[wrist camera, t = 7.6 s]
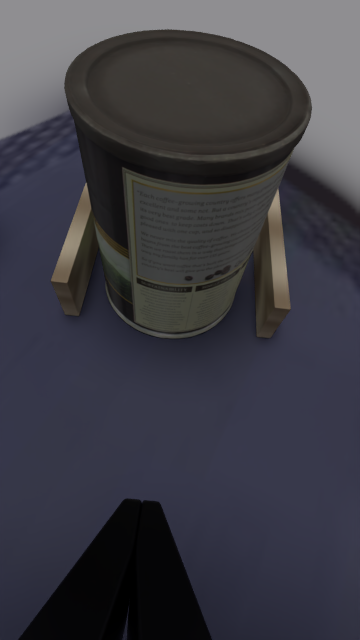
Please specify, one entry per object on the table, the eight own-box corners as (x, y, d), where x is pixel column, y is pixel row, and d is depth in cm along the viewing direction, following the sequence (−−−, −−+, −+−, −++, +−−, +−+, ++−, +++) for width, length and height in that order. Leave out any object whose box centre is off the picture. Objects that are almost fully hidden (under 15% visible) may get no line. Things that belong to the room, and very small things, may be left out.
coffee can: (76, 297, 24) (4, 86, 12) (152, 217, 29) (155, 10, 17) (196, 367, 22) (252, 197, 10) (256, 269, 27) (343, 75, 15)
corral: (270, 338, 24) (290, 309, 20) (65, 314, 24) (50, 280, 20) (261, 200, 32) (275, 162, 28) (106, 180, 31) (101, 140, 28)
